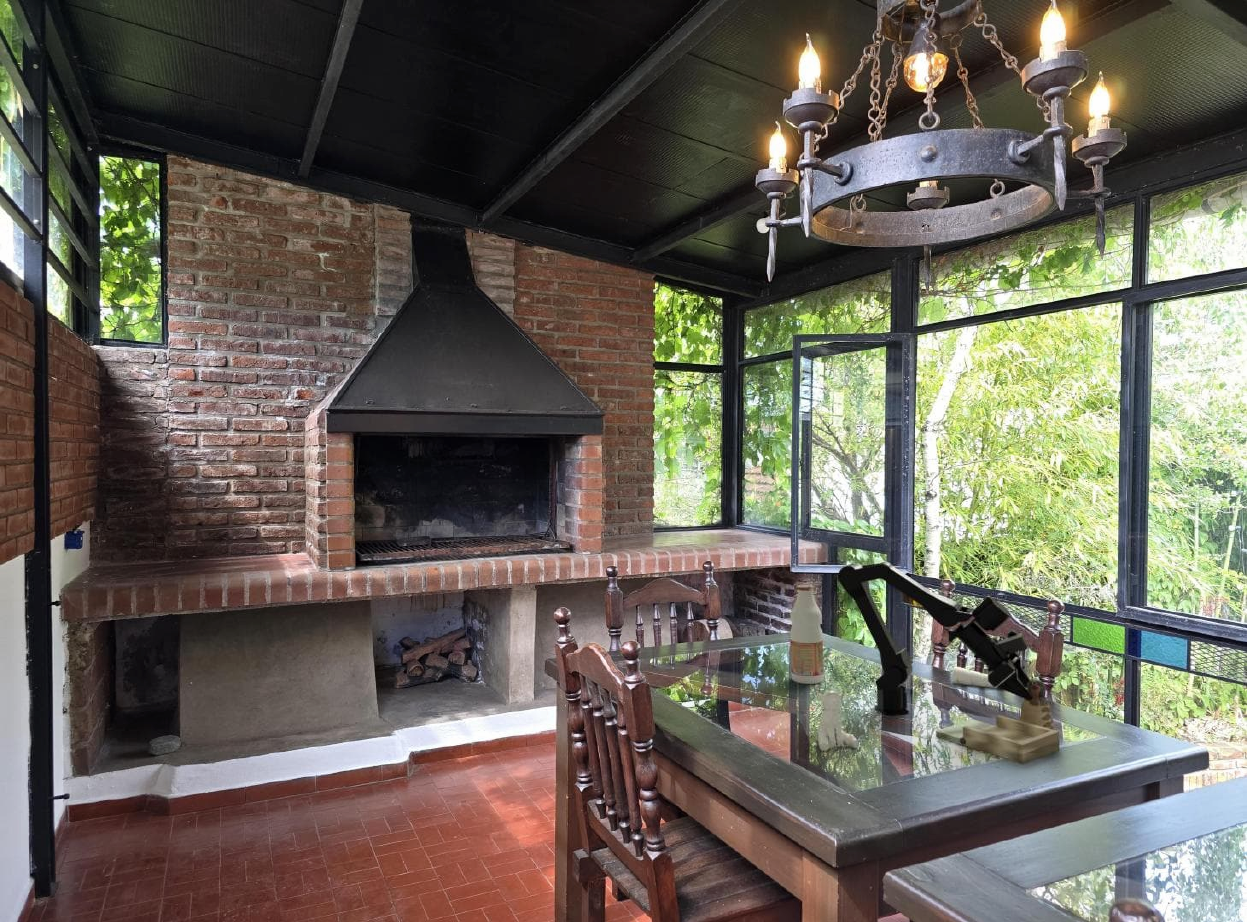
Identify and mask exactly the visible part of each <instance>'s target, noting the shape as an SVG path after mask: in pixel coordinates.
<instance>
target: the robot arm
mask: <svg viewBox="0 0 1247 922" xmlns="http://www.w3.org/2000/svg"><path fill="white" fill-rule="evenodd" d="M837 573H838V574H837V579H838V582H839V584H840V586H841V587H842V588H843V589H844V590H845V592H846V593H847V594H848V595H849V597H850V598H852V600H853V601H854V603H855V604H856V607H857V609H858V610H859V612H860V614H861V616H862V619H863V621H864V623H865V625H866V627H867V629H868V631H869V633H870V635H871V637H872V639H873V641H874V643H875V645H876V647H877V649H878V651H879V657H880V664H881V668H882V671H883V673H882V674H881V675H879V677H878V678H877V679H876V680H875V685H876V700H877V702H876V703H877V704H876V705H874V709H876V710H878V711H879V712H881V713H883V714H885V715H897V714H898V715H899V714H910V710H908V692H906V686H904V683H905V682H906V681H907V680H908V679H909V677H911V675H912V673H913V665H912V664H913V663H914V660H912V659H911V658H910V656H909V653H908V650H907V648H906V647H905V648H902V649H900V648H899V647H898V645H896V643H895V641H894V638H892V635H891V632H890V631H889V629H888V627H887V626H886V622H885V621H884V619H883V617H882V614H881V613H880V610H879V609H878V606H877V604H876V603H875V601H874V598H873V597H872V595H871V591H870V582H871V581H875V580H880V579H881V580H883V581H884V582H886V583H887V584H889V585H891V586H892V587H893V588H894V589H896V590H898V591H899V592H900V593H903V594H904V595H906V596H907V597H909V598H910V599H912V600H913V601H914V602H916V603H917V604H918V605H920V606H921V607H923V609H924V610H925V611H926V612H927V613H928V615H929V616H930V617H931V618H933V620H934V621H935V622H937V623H938V625H940V626H942V627H945V628H952V627H954V626H956V625H957V624H958V623H960V624H959V625H957V626H956V627H955V628H954V629H948V630H947V633H948V642H949V643H952V642H953V641H955V639H958V640H959V641H960V642H961V643H962V644H963V645H964V646H965V647H966V648H967V649H968V650H969V651H970V652H971V653H972V654H973V657H974V659H976V660H979V661H980V662H981V663H983V664H984V665H985V667H986V668H987V669H986V670H987V672H989V673H988V674H987V675H988V682H989V683H990V684H991V685H992V686H993V687H996V686H997V688H996V689H999V688H1000V690H1003V691H1005V692H1008V693H1010V694H1013V695H1015V696H1017V697H1019V698H1022V699H1023V700H1024V699H1026V700H1029V701H1031V700H1032V699H1033V697H1032V695H1031V694H1030V693H1029V691H1028V690H1027V689H1026V688H1027V683H1028V682H1029V681H1030V680H1031V679H1030V678H1029V676H1028V674H1027V673H1026V671H1025V670H1024V668H1023V667H1022V656H1020V655H1021V653H1020V652H1024V651H1026V650H1027V649H1029V644H1028V642H1027V640H1026V637H1025V635H1023V633H1022V632H1020V633H1018V632H1017V631H1016V630H1014V629H1013V630H1010V631H1008V632H1007V637H1005V638H1004V639H1002V640H998V638H996V637H994V636H993V637H991V636H990V635H989V634H988V633H987V632H988V631H991V632H995V631H996V630H998V628H1000V627H1001V626H1002V625H1003V624H1004V623H1006V621H1008V620H1009V619H1010V618H1011V617H1012V613H1011V612H1010V611H1009V609H1008V608H1006V606H1005V605H1004V604H1002V603H1000V602H999V601H998V600H996V599H994V598H993V597H992V596H991V595H987V596H986V597H985V598H984V599H983V600H982V601H981V603H979V605H977V606H976V607H975V608H973V607H968V606H964V605H961V604H960V603H959V602H957V601H955V600H953V599H950V598H948V597H946V596H943V595H940V594H938V593H935V592H933V591H931V590H929V589H927V588H926V587H925V586H924V585H922V584H920V583H918V581H916V580H914V579H913V578H912V577H909V576H908V575H906V574H905V573H904V572H902V571H900V570H899V569H898V568H896V567H894V565H892V564H891V563H890V562H888V561H882V562H879V563H871V564H864V565H860V564H858V563H854V562H853V563H850V564H847V565H845V566H843V567H842V568H840V569H839V571H838V572H837ZM972 617H973V619H971V618H972ZM970 619H971V620H970ZM969 620H970V621H969ZM966 622H967V623H966ZM1025 687H1026V688H1025Z"/></svg>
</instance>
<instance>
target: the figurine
mask: <svg viewBox="0 0 1247 922" xmlns="http://www.w3.org/2000/svg"><path fill="white" fill-rule="evenodd" d="M1027 690H1028V691H1029V693H1030V694H1031V695H1032V697H1033V699H1032V700H1031V701H1029V700H1026V699H1024V698H1023V700H1022V702H1021V705H1020V706H1021V707H1020V718H1019V721H1022V722H1026V723H1030V724H1033V725H1037V726H1041V727H1044V728H1048V729H1052V730H1055V723H1054V719H1053V718H1054V717H1053V709H1052V706H1051V703H1050V702H1049V701H1048V698H1047V696H1046V690H1047V686H1046V685H1045V683H1044V682H1042V681H1041V680H1040V679H1030V681H1029V682H1028V683H1027Z"/></svg>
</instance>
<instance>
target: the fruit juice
mask: <svg viewBox="0 0 1247 922" xmlns="http://www.w3.org/2000/svg"><path fill="white" fill-rule="evenodd" d="M814 591H815V590H814V585H813V584H812V585H811V584H799V585H796V592H797V596H796V599H795V601H794V602H795V603H794V605H793V606H792V608H791V610H790V612H789V613H790V617H789V618H790V622H791V628H790V634H789V635H790V636H789V637H790V666H791V668H790V673H791V675H790V676H791V680H792V681H793V682H794V683H798V684H805V685H815V684H820V683H823V682H824V678H825V670H824V668H825V666H824V664H825V663H824V635H823V633H824V632H823V630H822V628H821V624H822V619H823V616H822V611H821V610H820V608H819V606H818V604H817V601H816V599H815V595H814V594H813V593H814Z"/></svg>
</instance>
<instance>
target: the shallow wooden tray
mask: <svg viewBox="0 0 1247 922" xmlns="http://www.w3.org/2000/svg"><path fill="white" fill-rule="evenodd" d="M935 736H936V737H938V738H941V739H944V740H947V741H950V742H953V743H957V744H959V745H962V746H966V747H968V748H972V749H975V750H978V751H982V752H985V753H988V754H990V755H994V756H997V757H1000V758H1003V759H1007V760H1009V761H1013V762H1016V763H1018V764H1022V765H1025V764H1026V763H1029V762H1032V761H1034V760H1037V759H1039V758H1042V757H1044V756H1047V755H1049V754H1052V753H1054V752H1057V751H1059V750H1060V731H1059V730H1055V729H1054V730H1052V729H1048V728H1044V727H1041V726H1037V725H1033V724H1030V723H1026V722H1022V721H1020V719H1019V720H1017V719H1016V718H1015V719H1014V718H1012V717H1011V718H1010V717H1007V716H1004V715H1000V714H999V715H996V716H995V724H994V725H993V724H990V723H987V722H984V721H980V720H977V719H969V720H966V721H963V722H959V723H956V724H954V725H951V726H947V727H945V728H941V729H938V730H936V731H935Z"/></svg>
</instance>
